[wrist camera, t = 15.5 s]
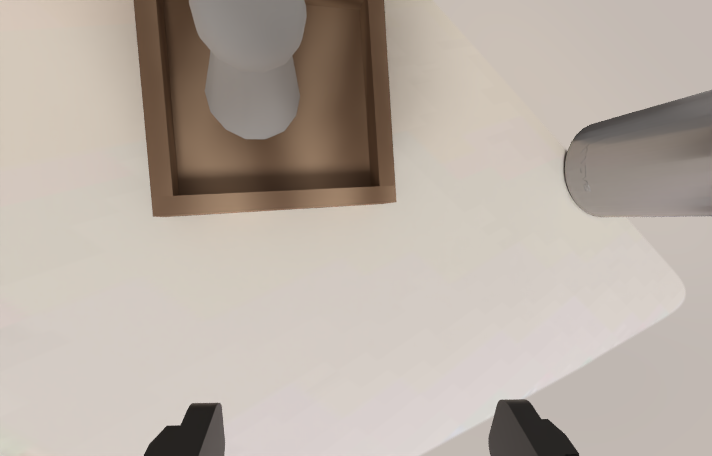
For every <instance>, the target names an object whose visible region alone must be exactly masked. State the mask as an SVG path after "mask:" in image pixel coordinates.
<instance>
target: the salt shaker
mask: <svg viewBox="0 0 712 456" xmlns="http://www.w3.org/2000/svg"><path fill="white" fill-rule="evenodd" d="M189 5H190V9H191V12H192V16H193V20H194V23H195V27H196V30H197V32H198V35H199V37H200V39H201V40H202V41H203V42H204V43H205V44H206V46H207V47H208V48H209V49H210V59H209V66H208V72H207V79H206V85H205V94H206V98H207V101H208V105H209V108H210V112H211V113H212V114H213V115H214V117H215V118H216V119H217V120H218V121H219V122H220V123H221V125H222V126H223V127H224V128H225V129H226V130H228V131H230V132H232V133H234V134H236V135H238V136H240V137H242V138H244V139H268V138H270V137H272V136H275V135H277V134H279V133H282V132H284V131H285V130H286V128H287V127H288V126H289V124H290V123H291V122H292V120H293V119H294V118H295V116H296V114H297V109H298V104H299V100H300V93H299V88H298V83H297V77H296V72H295V67H294V61H293V56H292V55H293V54H294V53H295V52H296V50H297V49H298V48H299V46H300V44H301V41H302V38H303V33H304V28H305V23H306V18H307V13H306V5H305V1H304V0H189Z"/></svg>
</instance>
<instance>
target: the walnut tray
mask: <svg viewBox="0 0 712 456" xmlns="http://www.w3.org/2000/svg"><path fill="white" fill-rule="evenodd" d="M304 1H305V5H306V13H307V18H306V23H305V28H304V33H303V38H302V41H301V44H300V46H299V48H298V49H297V50H296V52H295V53H294V54H293V55H292V56H293V61H294V67H295V72H296V77H297V83H298V88H299V93H300V100H299V104H298V109H297V114H296V116H295V118H294V119H293V120H292V122H291V123H290V124H289V126H288V127H287V128H286V130H285V131H284V132H282V133H279V134H277V135H275V136H272V137H270V138H268V139H244V138H242V137H240V136H238V135H236V134H234V133H232V132H230V131H228V130H226V129H225V128H224V127H223V126H222V125H221V123H220V122H219V121H218V120H217V119H216V118H215V117H214V115H213V114H212V113H211V112H210V108H209V105H208V101H207V98H206V94H205V85H206V79H207V72H208V66H209V59H210V49H209V48H208V47H207V46H206V44H205V43H204V42H203V41H202V40H201V39H200V37H199V35H198V32H197V30H196V27H195V23H194V20H193V16H192V12H191V9H190V5H189V0H134V9H135V20H136V31H137V42H138V53H139V64H140V76H141V87H142V98H143V109H144V120H145V131H146V142H147V154H148V165H149V176H150V187H151V198H152V209H153V216H156V217H171V216H188V215H205V214H221V213H238V212H255V211H271V210H288V209H305V208H321V207H338V206H355V205H371V204H385V203H393V202H396V189H395V173H394V157H393V141H392V124H391V108H390V92H389V76H388V59H387V43H386V27H385V11H384V0H304Z"/></svg>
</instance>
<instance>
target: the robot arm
mask: <svg viewBox="0 0 712 456" xmlns="http://www.w3.org/2000/svg"><path fill="white" fill-rule="evenodd" d="M565 176H566V183H567V186H568V189H569V192H570V194H571V196H572V198H573V200H574V201H575V202H576V203H577V205H578V206H579V207H580V208H581V209H582V210H584V211H585V212H586V213H589V214H591V215H593V216H598V217H665V216H666V217H667V216H669V217H677V216H712V90H710V91H706V92H703V93H699V94H696V95H692V96H689V97H686V98H682V99H678V100H675V101H671V102H668V103H665V104H661V105H657V106H654V107H650V108H647V109H644V110H640V111H636V112H632V113H629V114H626V115H622V116H619V117H615V118H612V119H609V120H605V121H601V122H598V123H595V124H591V125H589V126H587V127H585V128H583V129H582V130H581V131H580V132H579V133H578V134H577V135H576V136H575V138H574V139H573V141H572V142H571V144H570V147H569V149H568V151H567V156H566V161H565ZM489 450H490V455H491V456H579V453H578V452H577V450H576V449H575V448H574V446H573V445H572V443H571V442H570V440H569V439H568V438H567V436H566V435H565V434H564V433H563V432H562V431H561V430H559V429H558V428H557V427H556V426H555V425H554V424H553V423H552V422H550V421H549V420H548V419H541V418H540V417H539V415H538V414H537V412H536V411H535V409H534V408H533V406H532V405H531V403H530V402H529V401H527V400H525V399H520V400H500V401H499V402H498V404H497V407H496V411H495V415H494V419H493V423H492V426H491V430H490V434H489ZM224 451H225V437H224V427H223V416H222V406H221V404H220V403H192V404H191V405H190V406H189V408H188V410H187V412H186V414H185V417H184V419H183V421H182V423H181V426H166V427H165V428H164V429H163V431H162V432H161V433H160V434H159V435H158V436H157V437H156V438H155V439H154V440H153V441H152V442H151V443H150V444H149V446H148V448H147V450H146V452H145V454H144V456H224Z"/></svg>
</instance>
